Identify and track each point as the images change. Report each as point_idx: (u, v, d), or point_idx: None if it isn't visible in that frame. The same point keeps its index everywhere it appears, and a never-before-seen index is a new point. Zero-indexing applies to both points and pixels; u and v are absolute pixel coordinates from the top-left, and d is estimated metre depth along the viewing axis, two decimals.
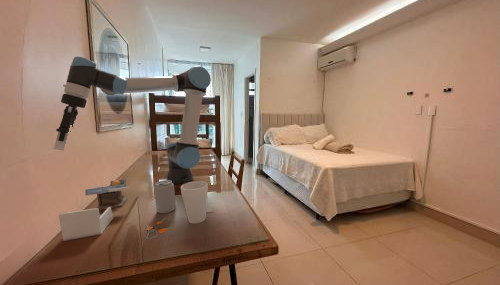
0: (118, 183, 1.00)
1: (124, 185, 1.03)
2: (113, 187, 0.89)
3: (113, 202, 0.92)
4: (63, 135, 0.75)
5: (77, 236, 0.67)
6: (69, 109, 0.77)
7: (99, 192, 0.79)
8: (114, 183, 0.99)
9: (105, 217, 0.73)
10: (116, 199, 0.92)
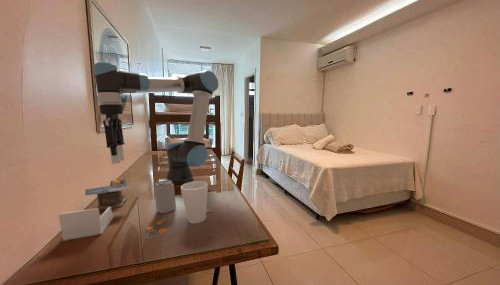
0: (118, 183, 1.00)
1: (124, 185, 1.03)
2: (113, 187, 0.89)
3: (113, 202, 0.92)
4: (114, 150, 0.80)
5: (77, 236, 0.67)
6: (106, 123, 0.76)
7: (99, 192, 0.79)
8: (114, 183, 0.99)
9: (105, 217, 0.73)
10: (116, 199, 0.92)
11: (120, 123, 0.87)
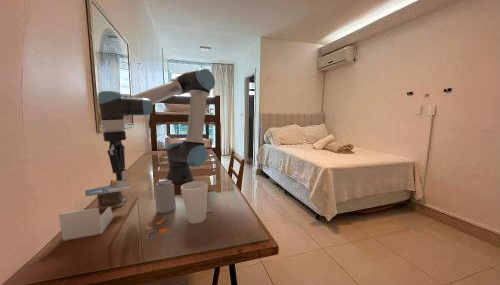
0: None
1: None
2: (113, 187, 0.89)
3: (113, 202, 0.92)
4: (119, 175, 0.83)
5: (77, 236, 0.67)
6: (111, 153, 0.78)
7: (99, 193, 0.79)
8: (114, 183, 0.99)
9: (105, 217, 0.73)
10: (116, 199, 0.92)
11: (123, 149, 0.88)
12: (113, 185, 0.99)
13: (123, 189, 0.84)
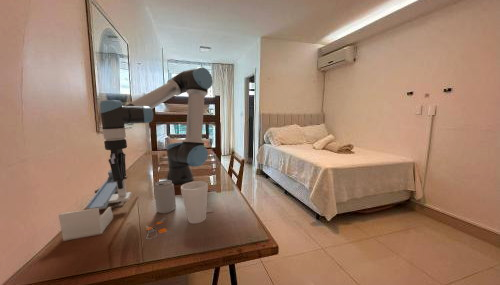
0: None
1: None
2: (113, 191, 0.89)
3: (113, 202, 0.92)
4: (120, 183, 0.84)
5: (77, 236, 0.67)
6: (112, 162, 0.78)
7: (101, 207, 0.79)
8: None
9: (105, 217, 0.73)
10: None
11: (124, 157, 0.89)
12: None
13: (124, 199, 0.84)
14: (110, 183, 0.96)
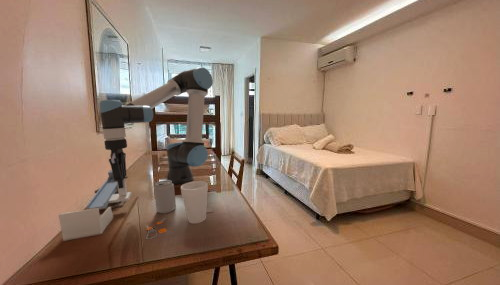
0: None
1: None
2: (113, 191, 0.89)
3: (113, 202, 0.92)
4: (120, 183, 0.84)
5: (77, 236, 0.67)
6: (112, 162, 0.79)
7: (101, 207, 0.79)
8: None
9: (105, 217, 0.73)
10: None
11: (124, 156, 0.89)
12: None
13: (124, 199, 0.84)
14: (110, 183, 0.96)
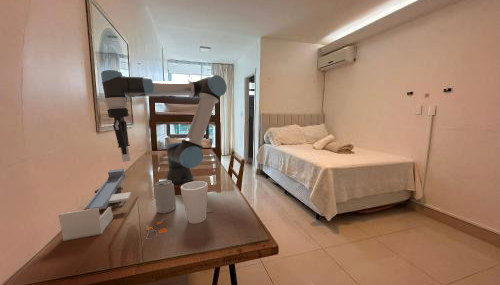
0: None
1: (123, 176, 1.02)
2: (113, 191, 0.89)
3: (113, 202, 0.92)
4: (124, 149, 0.90)
5: (77, 236, 0.67)
6: (116, 128, 0.85)
7: (101, 207, 0.79)
8: None
9: (105, 217, 0.73)
10: None
11: (126, 126, 0.95)
12: None
13: (124, 199, 0.84)
14: (110, 183, 0.96)
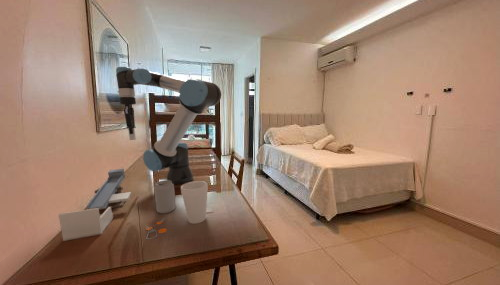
0: None
1: (123, 176, 1.02)
2: (113, 191, 0.89)
3: (113, 202, 0.92)
4: (131, 130, 1.13)
5: (77, 236, 0.67)
6: (126, 112, 1.08)
7: (101, 207, 0.79)
8: None
9: (105, 217, 0.73)
10: None
11: (133, 112, 1.18)
12: None
13: (124, 199, 0.84)
14: (110, 183, 0.96)
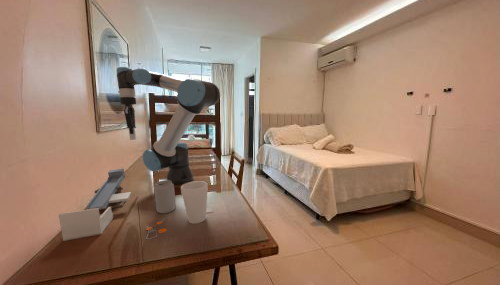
0: None
1: (123, 176, 1.02)
2: (113, 191, 0.89)
3: (113, 202, 0.92)
4: (131, 130, 1.14)
5: (77, 236, 0.67)
6: (126, 112, 1.09)
7: (101, 207, 0.79)
8: None
9: (105, 217, 0.73)
10: None
11: (134, 112, 1.19)
12: None
13: (124, 199, 0.84)
14: (110, 183, 0.96)
